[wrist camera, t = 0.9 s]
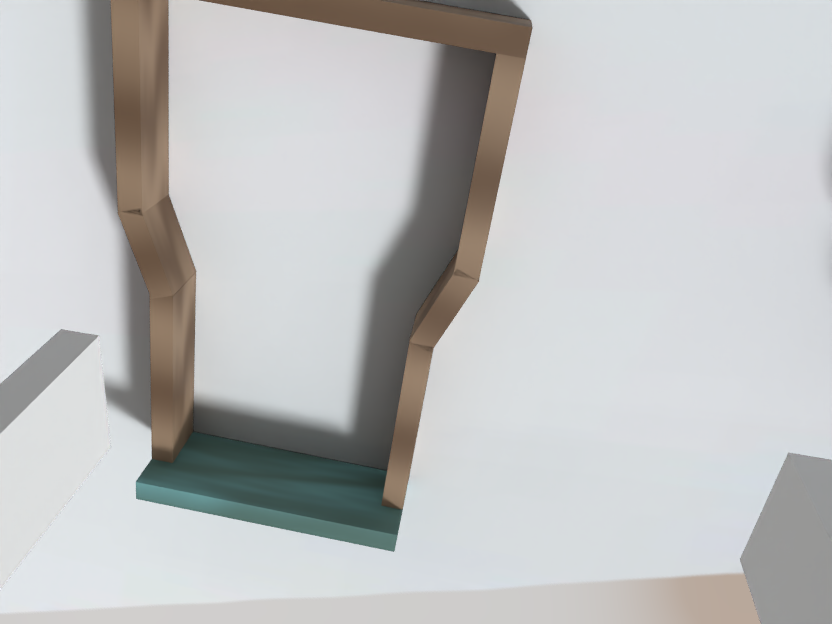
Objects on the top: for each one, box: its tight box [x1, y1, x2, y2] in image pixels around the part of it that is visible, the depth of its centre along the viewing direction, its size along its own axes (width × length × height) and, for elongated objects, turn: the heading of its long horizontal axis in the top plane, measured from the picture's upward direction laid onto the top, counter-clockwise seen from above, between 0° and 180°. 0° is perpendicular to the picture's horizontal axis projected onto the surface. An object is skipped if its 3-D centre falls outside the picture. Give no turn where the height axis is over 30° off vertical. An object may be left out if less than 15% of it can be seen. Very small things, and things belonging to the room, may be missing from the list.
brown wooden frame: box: [111, 0, 532, 552], centre depth 37 cm, size 27×17×5 cm, turn 171°
